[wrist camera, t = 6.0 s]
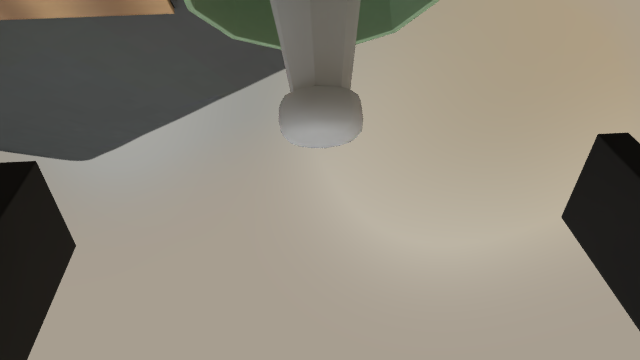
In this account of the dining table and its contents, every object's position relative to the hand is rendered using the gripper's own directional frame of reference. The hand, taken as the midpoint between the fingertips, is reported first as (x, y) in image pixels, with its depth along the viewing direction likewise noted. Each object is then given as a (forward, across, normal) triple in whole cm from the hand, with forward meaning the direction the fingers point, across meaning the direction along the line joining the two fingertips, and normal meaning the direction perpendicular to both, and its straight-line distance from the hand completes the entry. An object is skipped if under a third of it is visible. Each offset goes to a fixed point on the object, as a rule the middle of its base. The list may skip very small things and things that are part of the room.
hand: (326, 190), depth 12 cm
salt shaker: (+21, +1, +2) cm, 21 cm away
